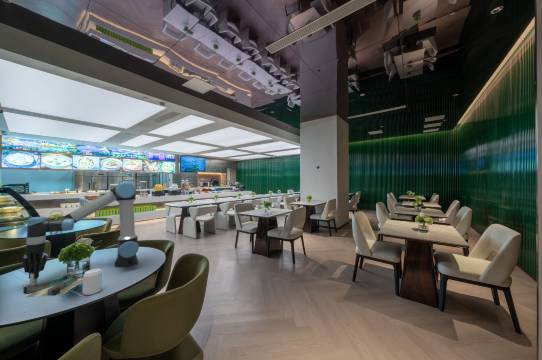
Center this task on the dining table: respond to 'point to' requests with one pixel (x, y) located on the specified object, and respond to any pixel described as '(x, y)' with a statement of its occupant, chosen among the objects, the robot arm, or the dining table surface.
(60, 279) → the tongs arm
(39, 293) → the board
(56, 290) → the teal-banded grey bar
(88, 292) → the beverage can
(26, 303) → the dining table surface
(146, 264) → the dining table surface
